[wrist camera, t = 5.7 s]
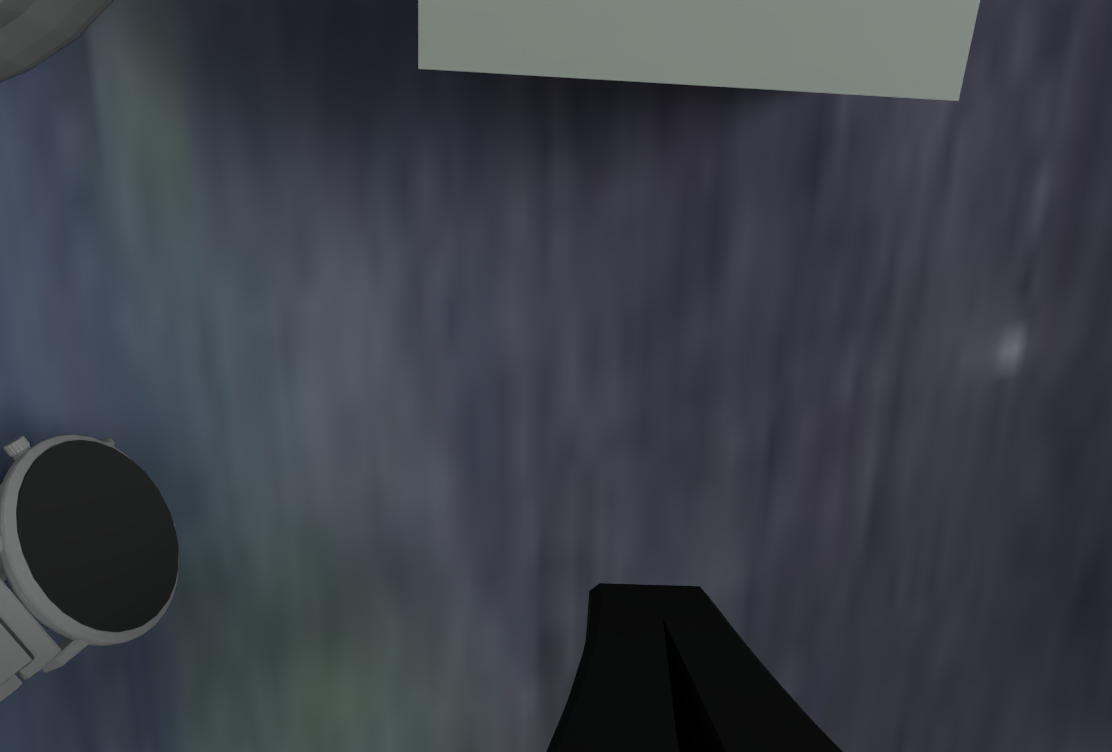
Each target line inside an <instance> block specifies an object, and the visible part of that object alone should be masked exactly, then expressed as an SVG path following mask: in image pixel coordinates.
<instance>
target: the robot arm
mask: <svg viewBox="0 0 1112 752" xmlns="http://www.w3.org/2000/svg"><path fill="white" fill-rule="evenodd" d="M547 752H842V751H841V750H840V749H839V748H838V747H837V746H836V745H835V744H834V743H833V742H832V741H831V740H830V739H829V738H828V737H827V736H826V735H825V733H824V732H823V731H822V730H821V729H820V728H819V727H818V726H817V725H816V724H815V723H814V722H813V721H812V720H811V718H810V717H809V716H808V715H807V714H806V713H805V712H804V711H803V710H802V709H801V707H800V706H799V705H798V704H797V703H796V702H795V701H794V700H793V698H792V697H791V696H790V695H789V694H788V693H787V692H786V691H785V689H784V688H783V687H782V686H781V685H780V684H779V683H778V681H777V680H776V679H775V678H774V677H773V676H772V675H771V673H770V672H769V671H768V670H767V669H766V668H765V666H764V665H763V664H762V663H761V662H760V660H759V659H758V658H757V657H756V656H755V654H754V653H753V652H752V651H751V649H750V648H749V647H748V646H747V645H746V643H745V642H744V641H743V640H742V638H741V637H740V636H739V635H738V633H737V632H736V631H735V630H734V628H733V627H732V626H731V625H730V623H729V622H728V621H727V619H726V618H725V617H724V616H723V614H722V613H721V612H720V611H719V609H718V608H717V607H716V605H715V604H714V603H713V602H712V600H711V599H710V598H709V597H708V595H707V594H706V593H705V592H704V591H703V590H702V589H701V587H700V586H668V585H635V584H602V583H599V584H598V585H597V586H596V587H594V588H593V589H592V590H590V591H589V604H588V618H587V632H586V642H585V646H584V651H583V655H582V658H581V661H580V664H579V667H578V670H577V674H576V677H575V680H574V683H573V686H572V689H571V693H570V695H569V698H568V701H567V704H566V706H565V709H564V711H563V713H562V716H561V718H560V721H559V723H558V725H557V728H556V730H555V733H554V735H553V737H552V740H551V742H550V745H549V747H548V749H547Z"/></svg>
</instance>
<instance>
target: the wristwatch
mask: <svg viewBox="0 0 1112 752" xmlns="http://www.w3.org/2000/svg"><path fill="white" fill-rule="evenodd" d="M114 444H115V443H114V441H113V440H112V439H111V438H109V437H108V438H105V439H103V440H101V441H100V440H97V439H95V438H92V437H86V436H79V435H65V436H55V437H52V438H49V439H47V440H44V441H41V442H39V443H38V444H36V445H35V446H33V447H32V448H31V447H30V443H29V442H28V441H27V439H26V438H25V437H24V436H20V437H18V438H16V439H14V440H12V441H11V442H9V443H7V444H6V445H5V446H4V447H3V449H4V450H5V451H6V453H7V454H8V455H9V456H11V457H12V456H13V459H14V460H15V462H14V463H13V465H12V466H11V467H10V468H9V470H8V472H7V474H6V476H5V478H4V480H3V482H2V484H1V483H0V702H1V701H2V700H3V699H5V698H6V697H7V696H9V695H10V694H11V693H13V692H14V691H15V690H16V689H17V688H18V687H19V686H20V685H21V684H22V682H21V681H20V680H19V679H18V678H17V676H16V675H15V673H17V674H18V675H19V676H20V677H21V679H22V680H25V679H28V678H30V677H31V676H33V675H34V674H35V673H37V672H38V671H39V670H40V669H42V670H43V671H44V672H45V673H47V672H49V671H52V670H54V669H57V668H59V667H62V666H63V665H64V664H66V663H67V662H68V661H69V660H70V659H72V658H73V657H74V656H75V655H76V654H78V653H79V652H80V651H81V650H82V649H84V648H85V647H86V646H87V645H97V646H106V645H113V644H120V643H124V642H128V641H130V640H132V639H135V638H137V637H140V636H142V635H143V634H144V633H146V632H147V631H148V630H149V629H151V628H152V627H153V626H155V625H156V623H157V622H158V621H159V620H160V619H161V617H162V616H163V615H164V614H165V612H166V610H167V608H168V606H169V604H170V602H171V600H172V598H173V595H174V592H175V588H176V584H177V580H178V570H179V553H178V541H177V536H176V528H175V524H174V522H173V520H172V517H171V514H170V511H169V509H168V507H167V505H166V503H165V501H164V499H163V497H162V496H161V494H160V492H159V490H158V488H157V487H156V486H155V484H154V483H153V482H152V480H151V479H150V478H149V477H148V475H147V474H146V473H145V472H144V471H143V470H142V469H141V468H140V467H139V466H138V465H137V464H136V463H135V462H134V461H133V460H132V459H130V458H129V457H128V456H127V455H125V454H124V453H123V452H122V451H120V450H118V449H116V447H115V446H114ZM5 580H7V581H8V582H9V584H10V586H11V588H12V590H13V592H14V593H15V595H16V596H17V597H18V598H19V599H20V601H21V602H22V603H23V604H24V605H25V607H26V608H27V609H28V610H29V611H30V613H31V614H32V615H33V616H34V617H35V618H36V619H38V620H39V621H40V622H41V623H42V624H43V625H44V626H46V627H47V628H49V629H51V630H52V631H54V632H55V633H57V634H59V635H60V636H62V637H65V639H64V640H63V641H62V642H61V643H60V644H59V645H57V644H56V643H55V642H54V641H53V639H52V638H51V637H50V636H49V635H48V634H47V632H46V631H45V630H44V629H43V628H42V627H41V625H40V624H39V623H38V622H37V621H36V620H35V618H34V617H33V616H32V615H31V614H30V613H29V611H28V610H27V609H26V608H25V607H24V606H23V604H22V603H21V602H20V601H19V600H18V599H17V597H16V596H15V595H14V594H13V593H12V592H11V590H10V589H9V588H8V587H7V586H6V585H5V583H4V581H5Z"/></svg>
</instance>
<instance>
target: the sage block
mask: <svg viewBox="0 0 1112 752" xmlns="http://www.w3.org/2000/svg"><path fill="white" fill-rule="evenodd" d="M979 3H980V0H418V69H430V70H447V71H463V72H480V73H497V74H514V75H531V76H548V77H565V78H582V79H598V80H615V81H632V82H649V83H666V84H683V85H700V86H717V87H733V88H750V89H767V90H784V91H801V92H818V93H835V94H852V95H868V96H885V97H902V98H919V99H936V100H953V101H959V96H960V91H961V87H962V82H963V77H964V73H965V68H966V63H967V59H968V54H969V49H970V45H971V40H972V35H973V31H974V26H975V21H976V17H977V12H978V7H979Z"/></svg>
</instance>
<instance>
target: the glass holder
mask: <svg viewBox="0 0 1112 752" xmlns="http://www.w3.org/2000/svg"><path fill="white" fill-rule="evenodd" d="M112 1H113V0H0V81H3V80H5V79H8V78H10V77H13V76H15V75H18V74H20V73H22V72H25V71H27V70H30V69H32V68H34V67H35V66H36V65H38V64H39V63H41V62H42V61H44V60H45V59H47V58H48V57H50V56H51V55H53V54H54V53H56V52H57V51H59V50H60V49H61V48H63V47H64V46H66V45H67V44H69V43H70V42H72V41H73V40H75V39H76V38H78V36H79V35H80V34H81V33H82V32H83V31H84V30H85V29H86V28H87V27H88V26H89V25H90V24H91V23H92V22H93V21H94V20H95V19H96V18H97V17H98V15H99V14H100V13H101V12H102V11H103V10H104V9H105V8H106V7H107V6H108V5H109V4H110V3H111V2H112Z"/></svg>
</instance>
